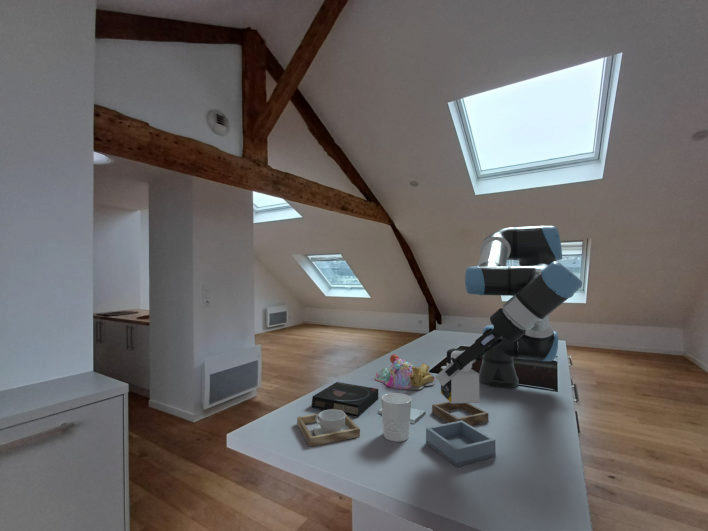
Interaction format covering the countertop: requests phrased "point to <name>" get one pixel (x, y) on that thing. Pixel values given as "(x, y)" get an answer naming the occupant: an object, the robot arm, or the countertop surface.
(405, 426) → the white cup
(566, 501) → the countertop surface
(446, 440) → the grey tray
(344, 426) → the teacup
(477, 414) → the walnut holder
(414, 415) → the hard drive
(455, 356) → the medicine bottle
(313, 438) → the oak cup rest
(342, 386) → the portable cd player
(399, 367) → the candy landscape model
